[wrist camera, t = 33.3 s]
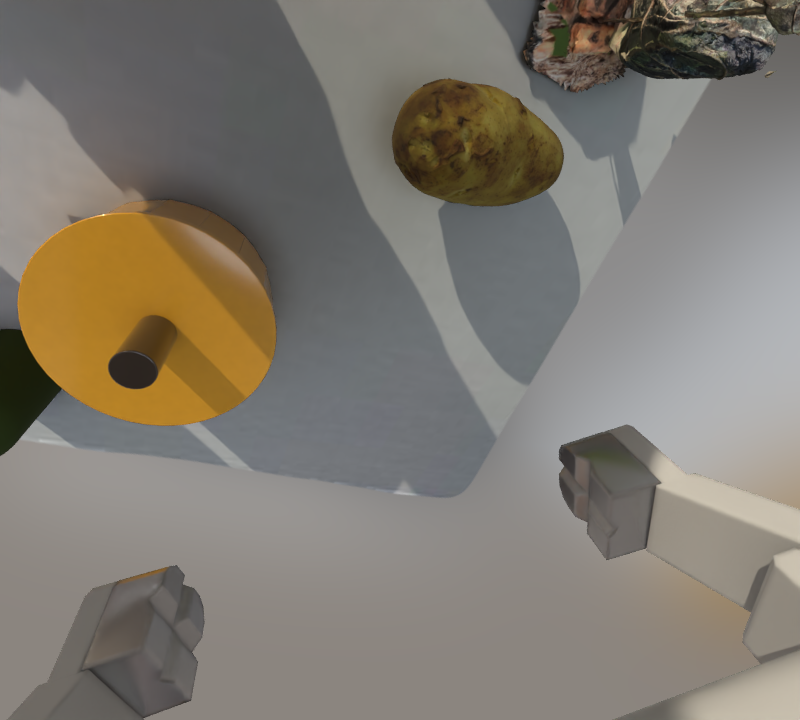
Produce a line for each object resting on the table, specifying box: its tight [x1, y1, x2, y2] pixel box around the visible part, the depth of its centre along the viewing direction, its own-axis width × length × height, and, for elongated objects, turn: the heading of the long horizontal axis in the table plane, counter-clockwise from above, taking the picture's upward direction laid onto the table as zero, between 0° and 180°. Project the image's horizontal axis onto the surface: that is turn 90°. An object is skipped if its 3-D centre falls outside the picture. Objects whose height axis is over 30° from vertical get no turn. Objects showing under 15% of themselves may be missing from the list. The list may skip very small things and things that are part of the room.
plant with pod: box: [523, 0, 800, 93], centre depth 23 cm, size 8×11×20 cm
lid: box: [18, 211, 277, 426], centre depth 26 cm, size 15×15×6 cm
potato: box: [392, 79, 564, 206], centre depth 30 cm, size 8×13×8 cm, turn 57°
